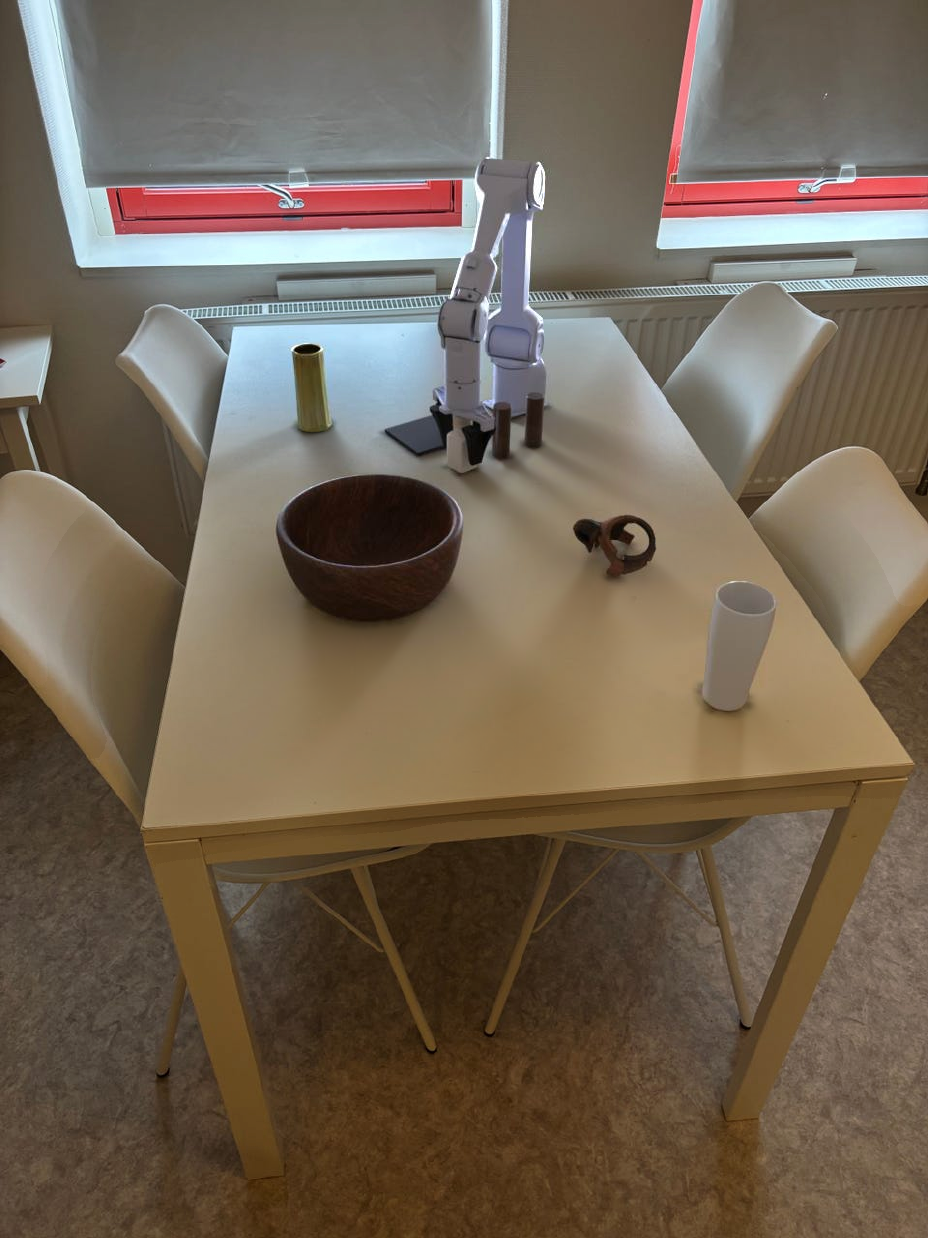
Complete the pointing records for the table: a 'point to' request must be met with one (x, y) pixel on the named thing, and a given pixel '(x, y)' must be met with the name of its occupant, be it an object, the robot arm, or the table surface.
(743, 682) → the drinking glass
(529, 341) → the robot arm
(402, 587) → the wooden bowl
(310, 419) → the vase
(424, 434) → the mat
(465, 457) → the pepper shaker
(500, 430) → the walnut dowel
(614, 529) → the brown curled ring figurine
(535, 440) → the walnut dowel
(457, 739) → the table surface
